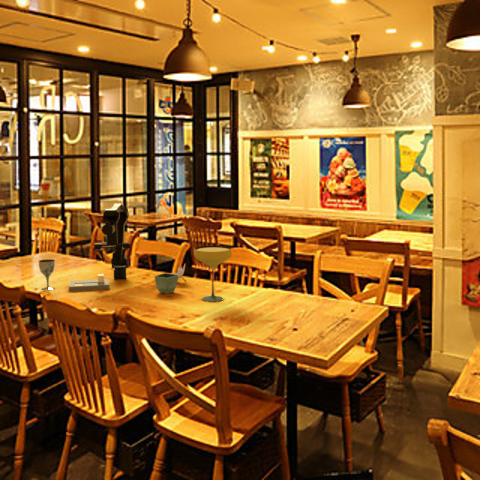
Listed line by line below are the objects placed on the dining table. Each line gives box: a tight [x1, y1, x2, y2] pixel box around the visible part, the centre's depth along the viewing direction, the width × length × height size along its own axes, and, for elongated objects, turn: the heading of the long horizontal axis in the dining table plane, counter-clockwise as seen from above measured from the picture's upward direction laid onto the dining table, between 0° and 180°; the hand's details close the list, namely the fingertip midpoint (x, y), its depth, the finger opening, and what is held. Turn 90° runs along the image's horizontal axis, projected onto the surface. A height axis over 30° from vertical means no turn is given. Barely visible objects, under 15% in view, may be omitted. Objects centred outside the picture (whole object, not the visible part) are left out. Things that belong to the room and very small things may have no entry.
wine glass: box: [38, 258, 56, 291], centre depth 292 cm, size 8×8×15 cm
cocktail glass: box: [193, 245, 232, 303], centre depth 271 cm, size 18×18×25 cm
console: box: [68, 278, 110, 293], centre depth 296 cm, size 20×14×3 cm
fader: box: [97, 273, 105, 283], centre depth 297 cm, size 3×5×5 cm, turn 15°
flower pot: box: [154, 272, 179, 295], centre depth 286 cm, size 9×9×9 cm
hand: (112, 261), depth 298 cm, fingers open, 9 cm apart
